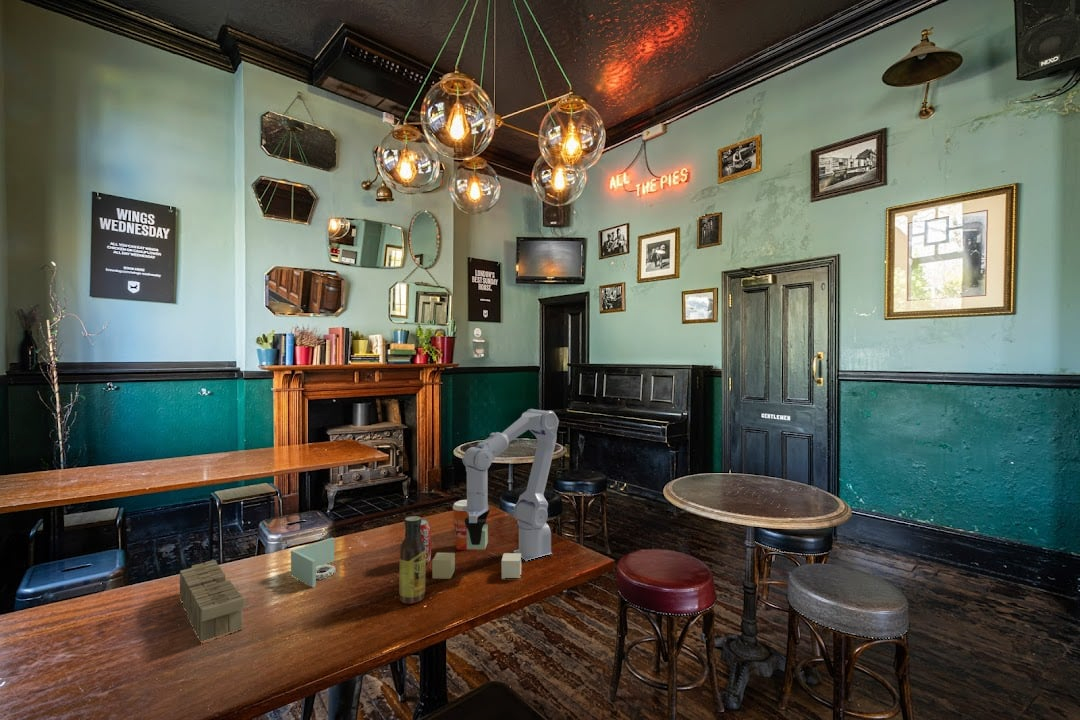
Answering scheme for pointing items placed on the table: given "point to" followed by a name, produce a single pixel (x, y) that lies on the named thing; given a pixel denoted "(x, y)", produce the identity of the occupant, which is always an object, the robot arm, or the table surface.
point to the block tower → (210, 600)
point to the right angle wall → (313, 561)
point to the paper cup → (460, 524)
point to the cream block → (511, 565)
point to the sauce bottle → (412, 563)
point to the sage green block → (483, 539)
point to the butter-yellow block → (443, 565)
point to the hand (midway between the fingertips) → (477, 540)
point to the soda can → (426, 538)
